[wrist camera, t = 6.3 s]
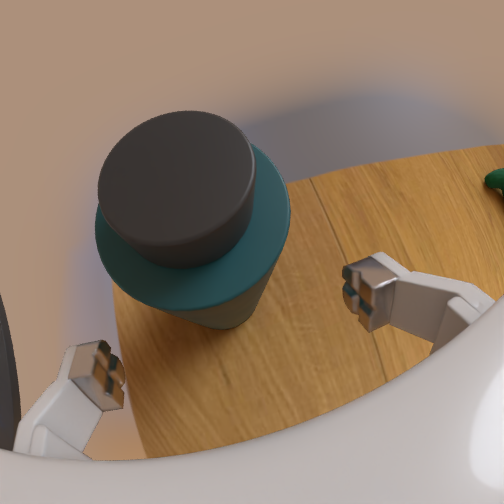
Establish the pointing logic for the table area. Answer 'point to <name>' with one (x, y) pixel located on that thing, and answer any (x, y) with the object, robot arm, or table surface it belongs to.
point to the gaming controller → (496, 179)
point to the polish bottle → (191, 218)
